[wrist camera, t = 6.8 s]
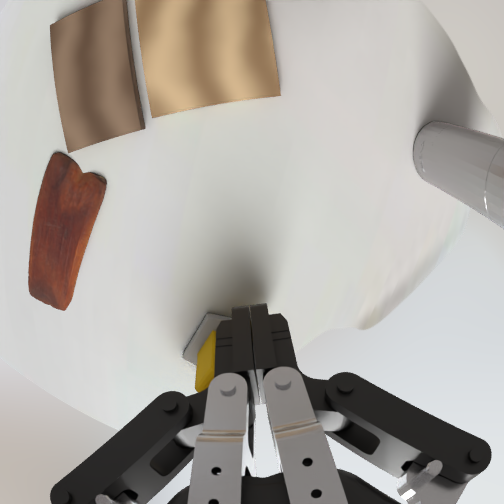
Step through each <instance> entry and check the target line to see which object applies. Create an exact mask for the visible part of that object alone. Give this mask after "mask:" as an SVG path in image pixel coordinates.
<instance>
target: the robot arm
mask: <svg viewBox="0 0 504 504" xmlns="http://www.w3.org/2000/svg"><path fill="white" fill-rule="evenodd" d="M413 157H414V164H415V167H416V170H417V172H418V174H419V175H420V176H421V178H422V179H424V180H425V181H426V182H428V183H430V184H432V185H434V186H435V187H437V188H439V189H441V190H442V191H444V192H446V193H447V194H449V195H451V196H453V197H454V198H456V199H458V200H459V201H461V202H463V203H464V204H466V205H468V206H469V207H471V208H473V209H474V210H476V211H477V212H479V213H480V214H482V215H484V216H485V217H487V218H488V219H490V220H491V221H493V222H494V223H496V224H497V225H499V226H500V227H502V228H503V229H504V139H503V138H500V137H497V136H493V135H490V134H487V133H483V132H480V131H476V130H473V129H469V128H465V127H461V126H458V125H453V124H449V123H445V122H438V121H435V122H431V123H429V124H427V125H425V126H424V127H423V128H422V129H421V131H420V132H419V133H418V135H417V138H416V140H415V144H414V150H413ZM250 311H251V317H250ZM251 322H252V323H251ZM215 347H216V348H215V368H214V379H213V380H212V381H211V383H210V385H209V387H208V388H206V389H205V390H203V391H201V392H199V393H196V394H193V395H190V396H187V397H186V396H185V395H183V394H182V393H180V392H176V391H169V392H165V393H163V394H161V395H159V396H158V397H157V398H156V399H155V400H154V401H152V402H151V403H150V404H149V405H148V406H147V407H146V408H145V409H144V410H142V411H141V412H140V413H139V414H138V415H137V416H136V417H135V418H133V419H132V420H131V421H130V422H129V423H128V424H127V425H126V426H124V427H123V428H122V429H121V430H120V431H119V432H118V433H116V434H115V435H114V436H113V437H112V438H111V439H109V441H107V442H106V443H105V444H104V445H103V446H101V447H100V448H99V449H98V450H97V451H95V452H94V453H93V454H92V455H91V456H90V457H88V458H87V459H86V460H85V461H84V462H82V463H81V464H80V465H79V466H77V467H76V468H75V469H74V470H73V471H71V472H70V473H69V474H68V475H66V476H65V477H64V478H63V479H62V480H60V481H59V482H58V483H57V484H55V485H54V487H53V488H52V490H51V493H50V500H51V503H52V504H146V503H148V502H149V501H150V500H151V499H152V498H153V497H154V496H155V495H156V494H157V493H158V492H159V491H160V490H162V489H163V488H164V487H165V486H166V485H167V484H168V483H169V482H170V481H171V480H172V479H173V478H174V477H175V476H176V475H177V474H178V473H179V472H180V471H181V470H182V469H183V468H184V467H185V466H186V465H187V464H188V463H189V462H190V461H191V460H192V459H193V464H192V472H191V480H190V485H189V486H187V487H185V488H184V489H182V490H181V491H180V492H178V493H177V494H176V495H175V496H174V497H173V498H172V499H171V500H170V501H169V502H168V503H167V504H401V503H399V502H397V501H396V500H394V499H392V498H390V497H389V496H387V495H386V494H384V493H382V492H381V491H379V490H378V489H376V488H375V487H373V486H372V485H370V484H369V483H367V482H365V481H364V480H362V479H361V478H359V477H358V476H356V475H354V474H352V473H350V472H347V471H344V470H340V469H337V468H336V466H335V462H334V459H333V456H332V453H331V451H330V448H329V444H328V441H327V438H326V435H328V436H329V437H331V438H332V439H334V440H335V441H337V442H338V443H340V444H341V445H343V446H345V447H346V448H348V449H349V450H351V451H352V452H354V453H356V454H357V455H359V456H360V457H362V458H364V459H365V460H367V461H369V462H370V463H372V464H374V465H375V466H377V467H379V468H380V469H382V470H384V471H386V472H387V473H389V474H391V475H393V476H395V477H396V478H398V482H397V491H398V493H399V495H400V496H401V497H402V498H404V499H405V500H406V501H407V502H408V504H456V503H457V501H458V499H459V497H460V496H461V494H462V492H463V490H464V489H465V487H466V485H467V483H468V482H469V481H470V480H471V479H473V478H474V477H476V476H477V475H478V474H480V473H481V472H482V471H484V470H485V469H486V468H487V466H488V465H489V463H490V461H491V449H490V446H489V445H488V443H487V442H486V441H484V440H482V439H481V438H478V437H476V436H474V435H472V434H470V433H467V432H465V431H463V430H461V429H459V428H457V427H455V426H453V425H451V424H449V423H447V422H444V421H443V420H441V419H439V418H437V417H435V416H433V415H431V414H429V413H427V412H425V411H423V410H421V409H419V408H417V407H415V406H413V405H411V404H409V403H407V402H405V401H403V400H402V399H400V398H398V397H396V396H394V395H392V394H390V393H388V392H387V391H385V390H383V389H381V388H379V387H377V386H375V385H374V384H372V383H370V382H368V381H367V380H364V379H363V378H361V377H359V376H358V375H356V374H353V373H348V372H342V373H338V374H335V375H333V376H332V377H331V378H330V379H329V380H321V379H313V378H310V377H307V376H306V375H304V374H303V373H302V372H301V371H300V370H299V368H298V366H297V362H296V357H295V353H294V348H293V344H292V340H291V335H290V332H289V327H288V322H287V320H286V319H285V318H284V317H283V316H282V315H281V313H279V314H272V315H269V314H268V308H267V303H265V304H257V305H250V310H249V306H241V307H233V308H232V320H223V321H221V322H220V324H219V325H218V327H217V329H216V343H215ZM258 384H259V387H258ZM259 390H260V396H261V402H262V404H266V406H267V413H268V419H269V424H270V429H271V434H272V438H273V442H274V447H275V452H276V457H277V461H278V466H279V472H280V473H278V474H275V475H272V476H269V477H266V478H259V477H256V466H255V416H256V414H255V405H259V404H260V398H259ZM325 434H326V435H325Z"/></svg>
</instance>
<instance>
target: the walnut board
mask: <svg viewBox="0 0 504 504" xmlns="http://www.w3.org/2000/svg"><path fill="white" fill-rule="evenodd" d="M50 37H51V51H52V62H53V71H54V79H55V87H56V94H57V100H58V106H59V112H60V117H61V122H62V127H63V132H64V137H65V141H66V146H67V150H68V153H70V152H73V151H76V150H79V149H81V148H84V147H87V146H90V145H93V144H96V143H99V142H102V141H105V140H108V139H111V138H115V137H118V136H121V135H125V134H128V133H132V132H135V131H139V130H142V129H145V125H144V120H143V115H142V109H141V104H140V98H139V92H138V87H137V80H136V74H135V68H134V61H133V54H132V47H131V39H130V31H129V22H128V12H127V2H126V0H102V1H100V2H97V3H95V4H93V5H90V6H88V7H86V8H84V9H81V10H79V11H77V12H75V13H73V14H71V15H69V16H67V17H65V18H63V19H61V20H59V21H57V22H55V23H53V24H52V25H50Z"/></svg>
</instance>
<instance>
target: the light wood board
mask: <svg viewBox="0 0 504 504" xmlns="http://www.w3.org/2000/svg"><path fill="white" fill-rule="evenodd" d="M135 6H136V15H137V24H138V32H139V40H140V48H141V55H142V62H143V68H144V75H145V81H146V87H147V93H148V98H149V104H150V110H151V115H152V118H155V117H159V116H163V115H167V114H172V113H176V112H180V111H185V110H190V109H195V108H200V107H205V106H210V105H216V104H222V103H228V102H234V101H241V100H249V99H257V98H265V97H275V96H281V94H280V87H279V80H278V73H277V66H276V59H275V53H274V47H273V40H272V34H271V28H270V23H269V17H268V11H267V6H266V0H135Z"/></svg>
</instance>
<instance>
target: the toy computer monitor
mask: <svg viewBox="0 0 504 504" xmlns="http://www.w3.org/2000/svg"><path fill="white" fill-rule="evenodd" d="M223 320H232V318H231V317H226V316H221V315H216V314H211V313H207V314H206V316H205V318H204V319H203V321H202V323H201V324H200V326H199V328H198V329H197V331H196V333H195V334H194V336H193V338H192V339H191V341H190V343H189V344H188V346H187V348H186V349H185V351H184V353H183V358H184V359H186V360H188V361H189V362H191V363H193V364H195V365H197V369H196V381H195V389H196V391H197V392H198V393H199V392H201V391H203V390H205V389H206V388H208V387H209V385H210V383H211V381H212V380H213V379H214V368H215V348H216V347H215V343H216V329H217V327H218V325H219V324H220V322H221V321H223ZM251 323H252V322H251Z"/></svg>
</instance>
